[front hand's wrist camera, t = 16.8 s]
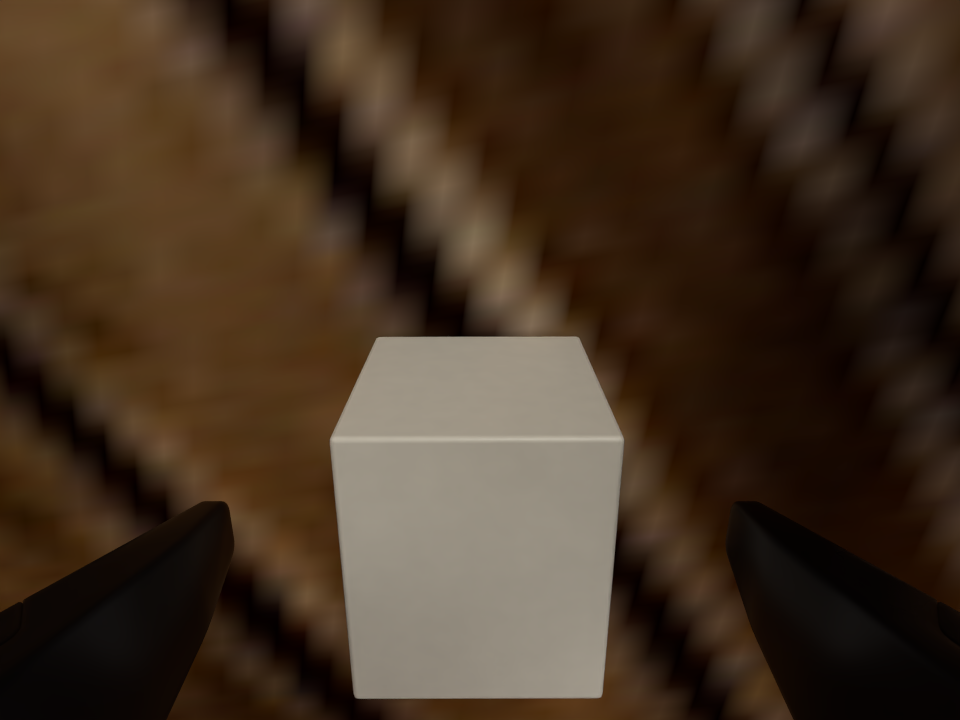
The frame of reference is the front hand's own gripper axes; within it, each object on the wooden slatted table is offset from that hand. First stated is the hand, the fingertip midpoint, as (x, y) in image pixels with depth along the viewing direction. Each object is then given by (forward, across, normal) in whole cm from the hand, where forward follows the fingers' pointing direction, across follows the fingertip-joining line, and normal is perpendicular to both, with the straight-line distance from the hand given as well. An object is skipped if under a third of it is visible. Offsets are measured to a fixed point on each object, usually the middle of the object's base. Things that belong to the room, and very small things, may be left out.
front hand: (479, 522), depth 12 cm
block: (+3, 0, 0) cm, 3 cm away
